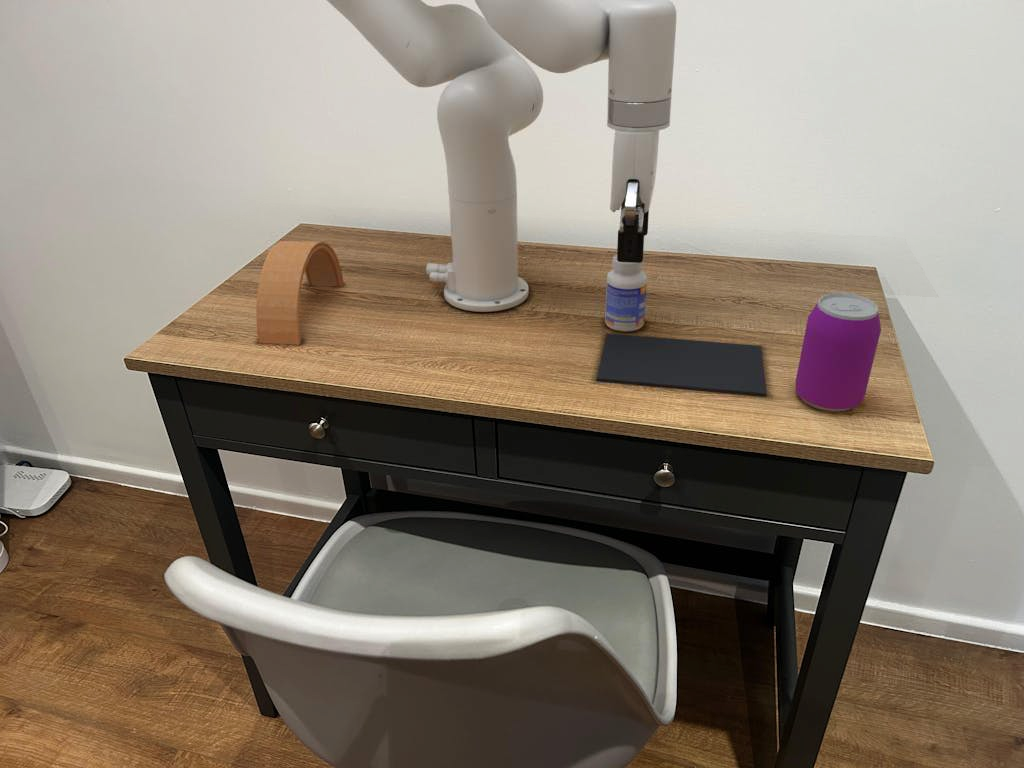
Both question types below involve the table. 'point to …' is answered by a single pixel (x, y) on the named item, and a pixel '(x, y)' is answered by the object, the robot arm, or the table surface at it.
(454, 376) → the table surface
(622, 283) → the pill bottle
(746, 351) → the desk mat
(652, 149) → the robot arm
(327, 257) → the arch
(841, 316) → the beverage can
